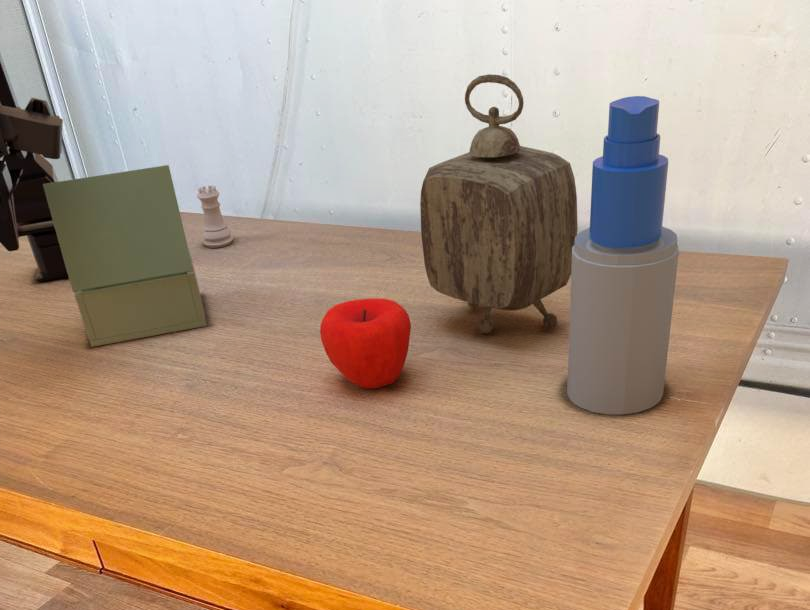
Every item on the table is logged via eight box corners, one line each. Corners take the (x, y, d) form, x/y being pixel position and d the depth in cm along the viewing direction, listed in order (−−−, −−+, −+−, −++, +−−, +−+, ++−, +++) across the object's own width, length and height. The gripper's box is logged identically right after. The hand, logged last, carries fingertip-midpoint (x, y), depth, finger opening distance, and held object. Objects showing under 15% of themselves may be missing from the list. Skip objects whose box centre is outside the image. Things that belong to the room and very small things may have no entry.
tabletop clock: (574, 326, 93) (583, 69, 78) (524, 357, 88) (523, 89, 73) (471, 300, 101) (462, 63, 86) (421, 327, 96) (401, 81, 81)
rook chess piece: (198, 247, 126) (185, 192, 121) (214, 237, 129) (202, 183, 124) (223, 249, 124) (211, 192, 120) (239, 239, 128) (228, 183, 123)
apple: (311, 391, 86) (298, 317, 81) (362, 356, 91) (353, 285, 87) (382, 409, 81) (373, 333, 77) (431, 371, 87) (426, 298, 82)
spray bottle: (575, 367, 85) (586, 90, 70) (667, 373, 82) (699, 87, 67) (558, 410, 78) (566, 115, 63) (657, 418, 76) (691, 112, 61)
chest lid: (43, 184, 92) (42, 183, 92) (168, 165, 95) (168, 164, 94) (73, 291, 96) (72, 291, 95) (193, 271, 98) (193, 270, 97)
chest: (94, 314, 108) (78, 266, 104) (200, 295, 110) (189, 247, 106) (91, 347, 100) (74, 295, 96) (206, 326, 102) (194, 274, 98)
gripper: (33, 87, 74) (89, 264, 83) (48, 60, 88) (94, 213, 98) (-102, 105, 72) (-30, 284, 81) (-64, 75, 86) (-6, 229, 96)
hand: (14, 249), depth 89 cm, fingers closed
